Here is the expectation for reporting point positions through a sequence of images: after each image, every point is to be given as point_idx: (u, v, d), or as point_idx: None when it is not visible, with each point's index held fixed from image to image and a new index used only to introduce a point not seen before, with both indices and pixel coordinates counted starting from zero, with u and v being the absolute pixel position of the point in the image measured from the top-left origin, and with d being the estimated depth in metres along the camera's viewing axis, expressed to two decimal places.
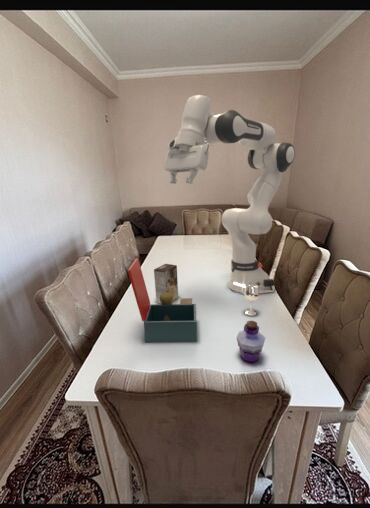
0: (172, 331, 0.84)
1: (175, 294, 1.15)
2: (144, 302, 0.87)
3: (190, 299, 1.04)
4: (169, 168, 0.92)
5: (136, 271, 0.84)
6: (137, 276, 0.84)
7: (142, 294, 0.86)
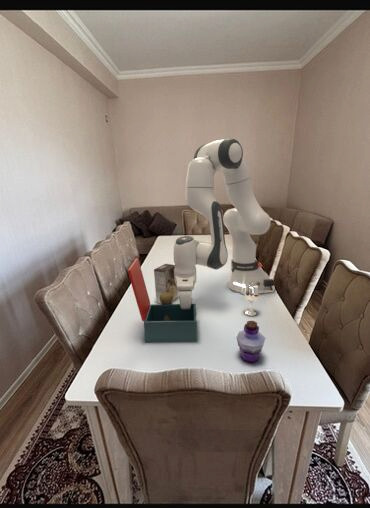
0: (172, 331, 0.84)
1: (175, 294, 1.15)
2: (144, 302, 0.87)
3: None
4: None
5: (136, 271, 0.84)
6: (137, 276, 0.84)
7: (142, 294, 0.86)
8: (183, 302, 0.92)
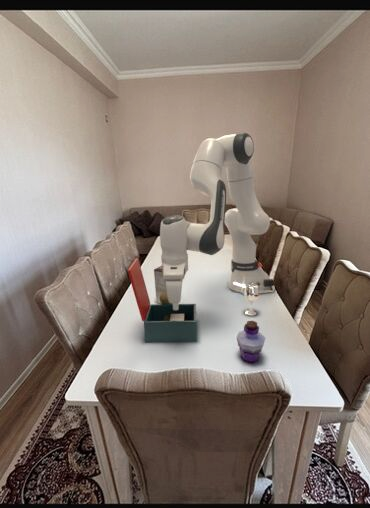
0: (172, 331, 0.84)
1: None
2: (144, 302, 0.87)
3: (182, 315, 0.91)
4: None
5: (136, 271, 0.84)
6: (137, 276, 0.84)
7: (142, 294, 0.86)
8: (172, 294, 0.76)
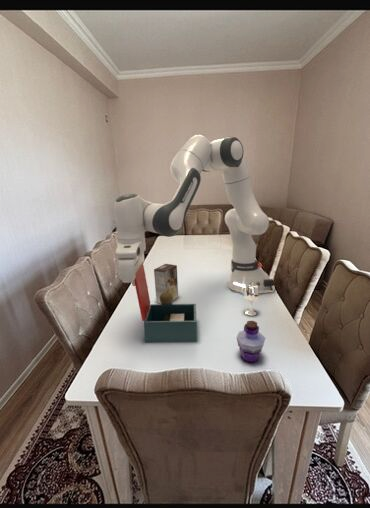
0: (172, 331, 0.84)
1: (175, 294, 1.15)
2: (145, 302, 0.87)
3: (182, 315, 0.91)
4: (135, 277, 0.78)
5: (140, 271, 0.84)
6: (140, 276, 0.84)
7: (144, 294, 0.86)
8: (124, 273, 0.74)
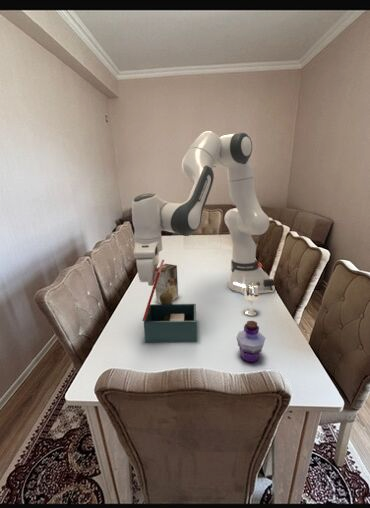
0: (172, 331, 0.84)
1: (175, 294, 1.15)
2: None
3: (182, 315, 0.91)
4: (152, 277, 0.78)
5: None
6: None
7: None
8: (142, 273, 0.74)
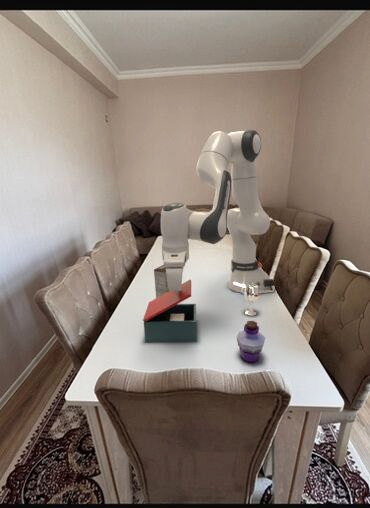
0: (172, 331, 0.84)
1: None
2: None
3: (182, 315, 0.91)
4: None
5: None
6: None
7: None
8: (172, 282, 0.75)
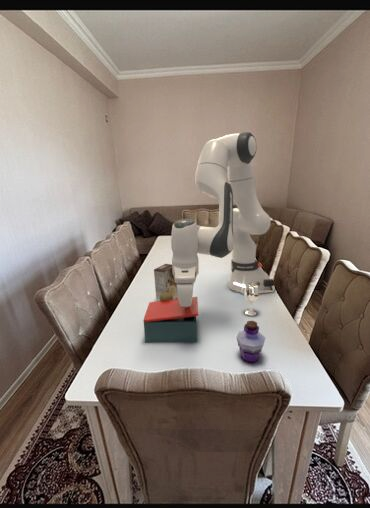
0: (172, 331, 0.84)
1: (175, 294, 1.15)
2: None
3: None
4: None
5: None
6: None
7: None
8: (183, 298, 0.76)
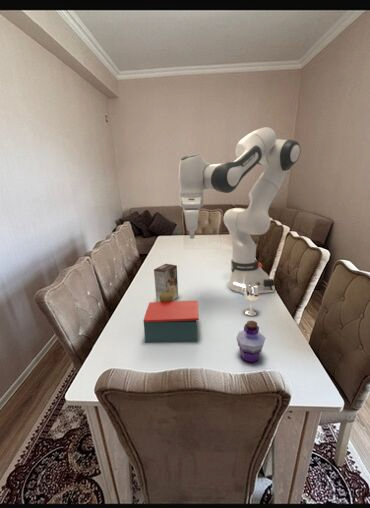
0: (172, 331, 0.84)
1: (175, 294, 1.15)
2: None
3: None
4: None
5: None
6: None
7: None
8: (190, 221, 0.85)
